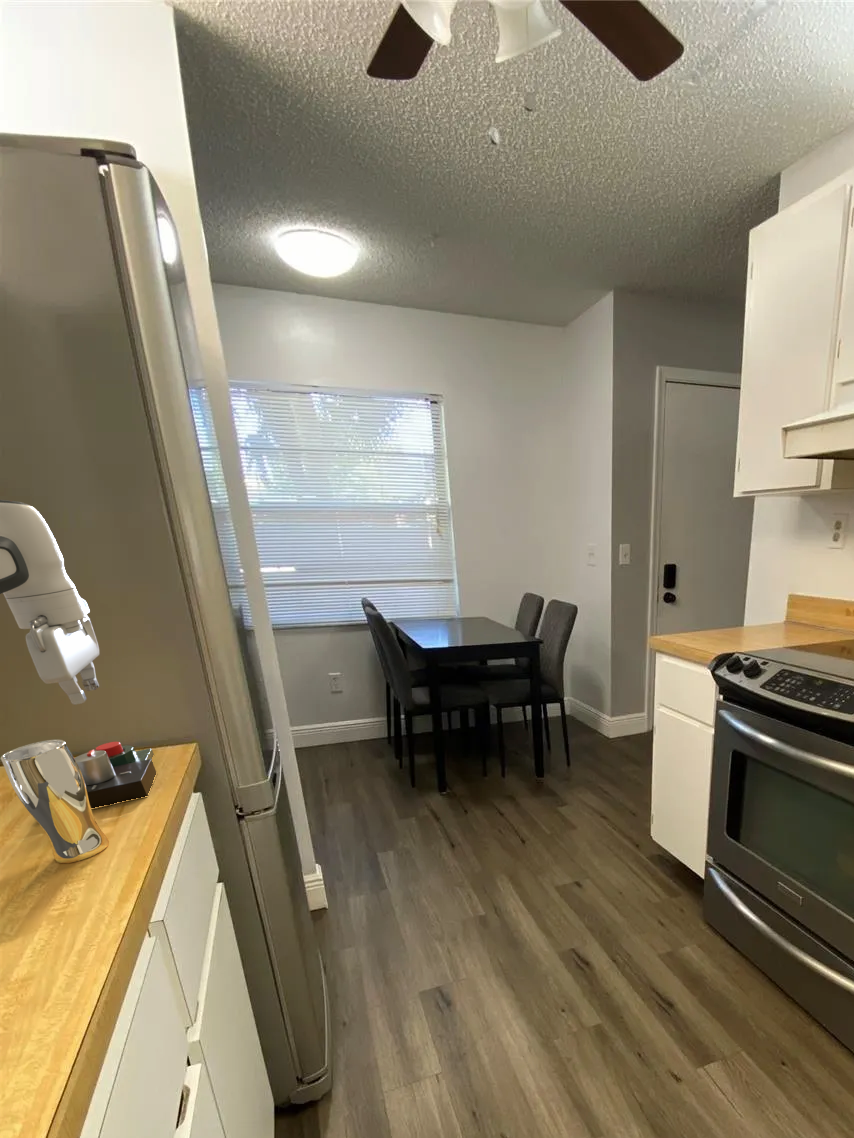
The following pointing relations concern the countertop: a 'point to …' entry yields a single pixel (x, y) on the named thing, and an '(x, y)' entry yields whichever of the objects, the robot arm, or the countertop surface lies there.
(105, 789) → the panel
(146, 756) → the switch block
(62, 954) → the countertop surface
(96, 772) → the knob
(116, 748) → the button
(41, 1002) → the countertop surface
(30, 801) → the beer glass
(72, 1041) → the countertop surface
